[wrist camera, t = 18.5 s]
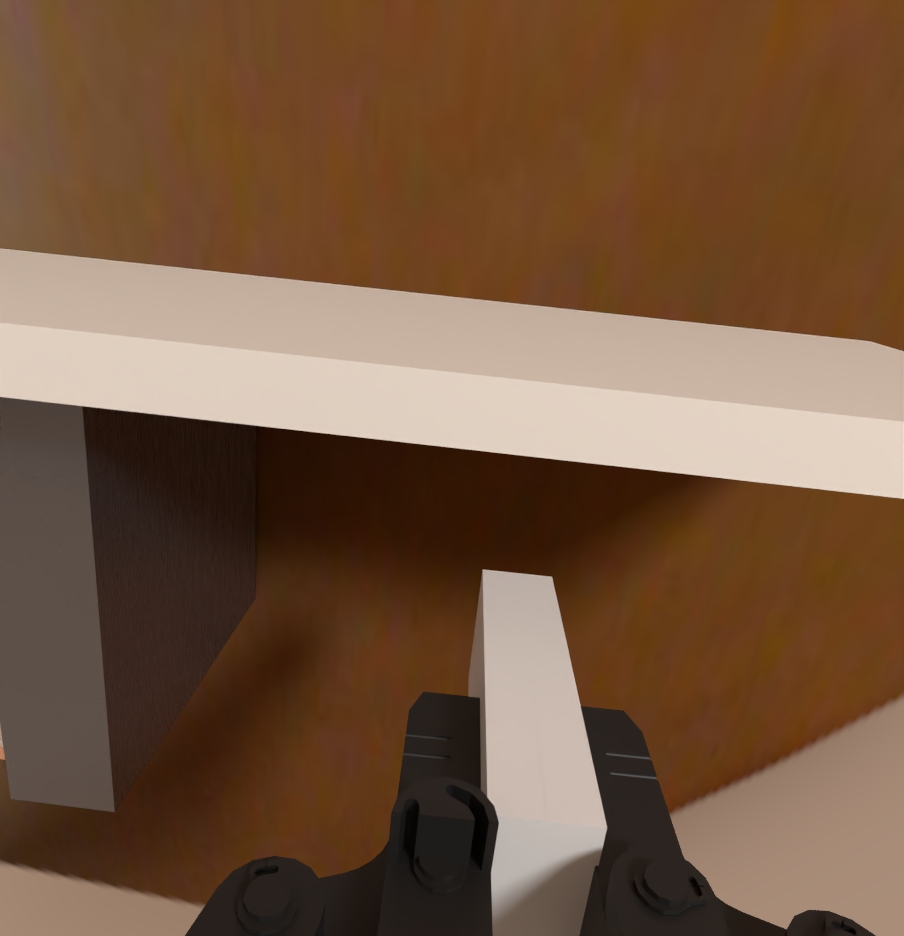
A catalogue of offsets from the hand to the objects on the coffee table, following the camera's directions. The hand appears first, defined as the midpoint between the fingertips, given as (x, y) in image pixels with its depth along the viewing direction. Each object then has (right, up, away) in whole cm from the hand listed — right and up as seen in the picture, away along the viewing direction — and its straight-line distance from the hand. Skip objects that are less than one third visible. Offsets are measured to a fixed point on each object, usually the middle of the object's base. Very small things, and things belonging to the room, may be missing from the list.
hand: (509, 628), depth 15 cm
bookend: (-9, +4, +9) cm, 14 cm away
